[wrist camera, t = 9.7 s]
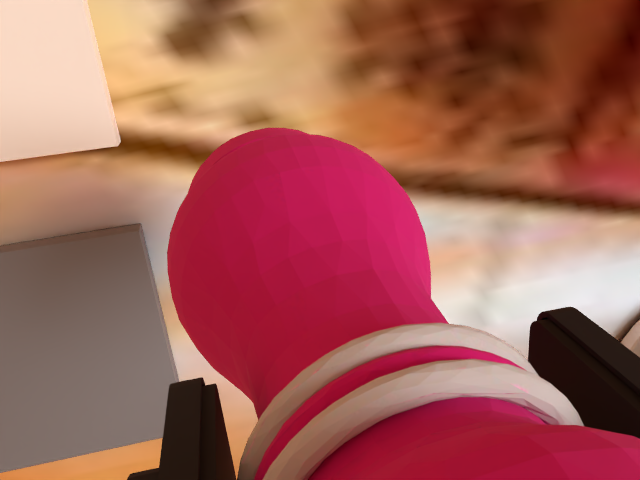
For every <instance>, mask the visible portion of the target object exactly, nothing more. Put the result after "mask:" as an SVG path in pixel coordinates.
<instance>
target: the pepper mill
mask: <svg viewBox="0 0 640 480" xmlns="http://www.w3.org/2000/svg"><path fill="white" fill-rule="evenodd" d="M167 260H168V276H169V282H170V287H171V293H172V299H173V302H174V305H175V308H176V311H177V314H178V317H179V320H180V322H181V324H182V325H183V327H184V329H185V330H186V332H187V333H188V335H189V337H190V338H191V340H192V342H193V343H194V345H195V346H196V348H197V349H198V351H199V352H200V353H201V354H202V355H203V356H204V358H205V359H206V360H207V361H208V362H209V364H210V365H211V366H212V367H213V368H214V369H215V370H216V371H217V372H219V373H220V374H221V375H222V376H224V377H225V378H226V379H227V380H229V381H230V382H231V383H232V384H234V385H235V386H236V387H237V388H239V389H240V390H241V391H242V392H243V393H244V394H245V395H246V396H247V397H248V398H249V399H250V400H251V401H252V402H253V403H254V407H255V410H256V414H257V417H258V422H257V424H256V426H255V428H254V429H253V431H252V433H251V435H250V437H249V439H248V441H247V444H246V446H245V449H244V452H243V455H242V458H241V461H240V466H239V472H238V478H237V480H640V439H639V438H637V437H634V436H631V435H625V434H620V433H615V432H610V431H605V430H600V429H595V428H590V427H584V425H583V422H582V420H581V418H580V416H579V414H578V412H577V411H576V410H575V408H574V407H573V405H572V404H571V403H570V401H569V400H568V399H567V397H566V396H564V395H563V394H562V393H561V392H560V391H559V390H558V389H556V388H555V387H554V386H553V385H552V384H551V383H549V382H547V381H546V380H544V379H542V378H541V377H539V376H538V374H537V373H536V371H535V370H534V368H533V367H532V366H531V364H530V363H529V362H528V361H527V360H526V359H525V358H524V357H523V356H522V355H521V354H520V353H519V352H518V351H517V350H516V349H515V348H513V347H512V346H510V345H509V344H508V343H506V342H505V341H503V340H501V339H499V338H497V337H495V336H493V335H491V334H489V333H487V332H484V331H481V330H478V329H475V328H471V327H468V326H462V325H454V324H449V323H448V322H447V321H446V319H445V318H444V316H443V315H442V314H441V312H440V311H439V309H438V308H437V307H436V305H435V304H434V302H433V301H432V300H431V271H430V260H429V254H428V249H427V243H426V237H425V233H424V230H423V227H422V225H421V222H420V219H419V217H418V214H417V211H416V209H415V207H414V206H413V204H412V202H411V200H410V198H409V196H408V195H407V193H406V192H405V191H404V190H403V188H402V187H401V186H400V185H399V183H398V182H397V181H396V180H395V179H394V178H393V177H392V176H391V175H390V174H389V173H388V172H387V171H386V169H385V168H384V167H382V166H381V165H380V164H379V163H378V162H376V161H375V160H374V159H373V158H372V157H370V156H369V155H368V154H366V153H364V152H363V151H361V150H359V149H357V148H356V147H354V146H352V145H349V144H347V143H344V142H341V141H338V140H335V139H332V138H329V137H325V136H320V135H309V134H307V133H304V132H301V131H299V130H293V129H286V128H265V129H260V130H255V131H250V132H247V133H245V134H242V135H240V136H237V137H235V138H232V139H230V140H229V141H227V142H226V143H224V144H223V145H221V146H220V147H219V148H217V149H216V150H215V151H214V152H213V153H212V154H211V155H210V156H209V157H208V158H207V160H206V161H205V162H204V163H203V164H202V165H201V166H200V168H199V169H198V171H197V173H196V174H195V176H194V178H193V180H192V183H191V186H190V188H189V191H188V194H187V196H186V198H185V199H184V201H183V203H182V204H181V206H180V208H179V210H178V212H177V215H176V218H175V221H174V224H173V227H172V230H171V232H170V239H169V245H168V251H167Z"/></svg>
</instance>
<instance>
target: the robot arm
mask: <svg viewBox="0 0 640 480" xmlns="http://www.w3.org/2000/svg"><path fill="white" fill-rule="evenodd" d="M528 362H529V363H530V364H531V366H532V367H533V368H534V370H535V371H536V373H537V374H538V376H539V377H541V378H542V379H544V380H546V381H547V382H549V383H551V384H552V385H553V386H554V387H555V388H556V389H558V390H559V391H560V392H561V393H562V394H563V395H564V396H566V397H567V399H568V400H569V401H570V403H571V404H572V405H573V407H574V408H575V410H576V411H577V412H578V414H579V416H580V418H581V420H582V422H583V425H584V427H590V428H595V429H600V430H605V431H610V432H615V433H620V434H625V435H631V436H634V437H637V438H639V439H640V320H639V321H638V322H637V323H636V324H635V325H634V326H633V327H632V328H631V329H630V331H629V332H628V333H627V335H626V336H625V337H624V338H623V340H622V341H621V343H620V342H619V341H618V340H616V339H615V338H614V337H612V336H611V335H610V334H609V333H607V332H606V331H605V330H603V329H602V328H601V327H599V326H598V325H597V324H595V323H594V322H593V321H591V320H590V319H589V318H587V317H586V316H585V315H584V314H582V313H581V312H580V311H578V310H577V309H575V308H573V307H565V308H560V309H555V310H550V311H545V312H542V313H540V314H539V316H538V317H537V321H534V322H533V323H532V324H531V326H530V337H529V355H528ZM127 480H236V475H235V470H234V466H233V461H232V456H231V451H230V446H229V441H228V437H227V432H226V427H225V422H224V417H223V413H222V408H221V403H220V398H219V393H218V389H217V385H216V384H211V385H206V386H205V383H204V380H203V378H197V379H192V380H187V381H181V382H176V383H171V384H170V385H169V390H168V399H167V407H166V415H165V424H164V432H163V440H162V449H161V457H160V465H159V468H156V469H151V470H146V471H141V472H137V473H132V474H130V475H129V477H128V479H127Z"/></svg>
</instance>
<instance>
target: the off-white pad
mask: <svg viewBox="0 0 640 480" xmlns="http://www.w3.org/2000/svg"><path fill="white" fill-rule="evenodd" d="M120 142H121V140H120V135H119V131H118V127H117V123H116V119H115V115H114V111H113V107H112V102H111V98H110V94H109V90H108V86H107V82H106V78H105V74H104V69H103V65H102V61H101V57H100V53H99V49H98V45H97V40H96V36H95V32H94V28H93V24H92V20H91V16H90V12H89V7H88V3H87V0H0V162H3V161H10V160H18V159H25V158H33V157H40V156H47V155H55V154H62V153H70V152H77V151H84V150H92V149H99V148H106V147H114V146H118V145H119V144H120Z"/></svg>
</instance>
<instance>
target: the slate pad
mask: <svg viewBox="0 0 640 480" xmlns="http://www.w3.org/2000/svg"><path fill="white" fill-rule="evenodd" d="M176 382H179V379H178V375H177V371H176V367H175V363H174V358H173V354H172V350H171V346H170V342H169V338H168V334H167V330H166V325H165V321H164V317H163V313H162V309H161V305H160V301H159V296H158V292H157V288H156V284H155V280H154V276H153V272H152V268H151V263H150V259H149V255H148V251H147V247H146V243H145V239H144V235H143V230H142V226H141V224H135V225H129V226H122V227H116V228H110V229H103V230H97V231H90V232H84V233H78V234H71V235H65V236H59V237H52V238H46V239H40V240H33V241H27V242H21V243H14V244H8V245H2V246H0V473H2V472H7V471H11V470H16V469H21V468H25V467H30V466H34V465H39V464H43V463H48V462H53V461H57V460H62V459H66V458H71V457H76V456H80V455H85V454H89V453H94V452H99V451H103V450H108V449H112V448H117V447H122V446H126V445H131V444H135V443H140V442H145V441H149V440H154V439H158V438H163V432H164V424H165V415H166V407H167V399H168V390H169V385H170V384H171V383H176Z"/></svg>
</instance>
